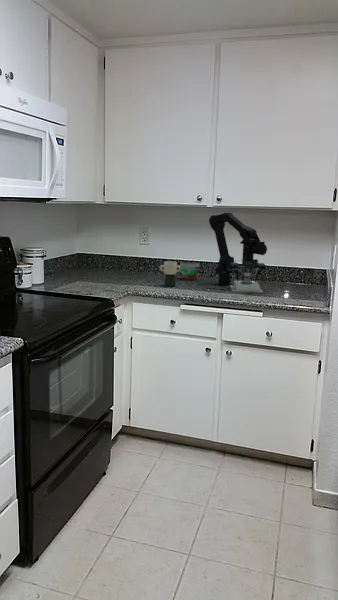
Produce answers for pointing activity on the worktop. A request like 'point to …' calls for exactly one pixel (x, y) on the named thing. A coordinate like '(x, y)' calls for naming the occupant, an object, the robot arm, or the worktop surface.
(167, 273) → the character mug
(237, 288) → the dock
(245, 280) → the spigot
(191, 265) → the food container
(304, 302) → the worktop surface
